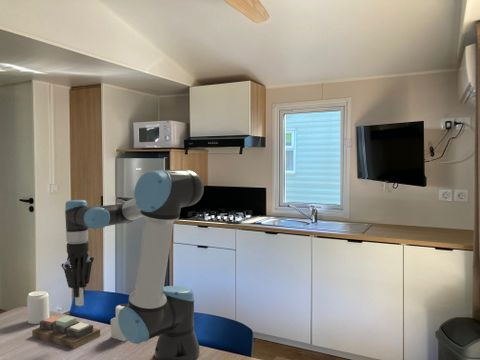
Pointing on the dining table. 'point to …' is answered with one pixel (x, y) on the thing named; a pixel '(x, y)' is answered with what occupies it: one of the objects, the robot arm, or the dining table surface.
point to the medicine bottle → (117, 325)
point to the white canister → (37, 306)
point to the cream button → (79, 326)
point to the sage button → (65, 321)
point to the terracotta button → (51, 319)
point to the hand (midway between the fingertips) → (79, 304)
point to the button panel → (65, 334)
